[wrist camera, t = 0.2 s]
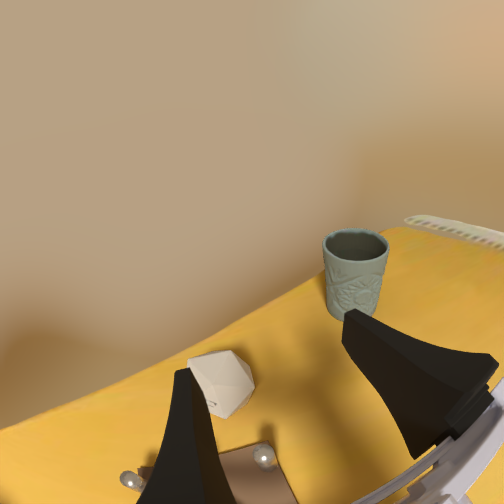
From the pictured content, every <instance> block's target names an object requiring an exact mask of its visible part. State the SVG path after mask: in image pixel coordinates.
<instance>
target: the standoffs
mask: <svg viewBox="0 0 504 504" xmlns="http://www.w3.org/2000/svg"><path fill="white" fill-rule="evenodd" d="M252 455H253V458H254V459H255V461H256V463H257V464H258V466H259V468H260V469H261V470H262V471H264V472H272V471H274V470H275V469H276V468H277V466H278V462H277V459H276V456H275V453H274V450H273V448H272V447H271V446H269V445H267V444H261V445H258V446H256V447H255V448H254V450H253V453H252ZM120 481H121V483H122V484H123V485H124V486H126V487H128V488H130V489H132V490H134V491H137V492H139V493H141V494H142V492H143V490H144V488H145V486H146V484H147V482H148V481H147V480H146V479H144V478H142V477H140V476H138V475H137V474H135V473H133V472H132V471H124V472H123V473H122V474H121V475H120Z"/></svg>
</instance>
